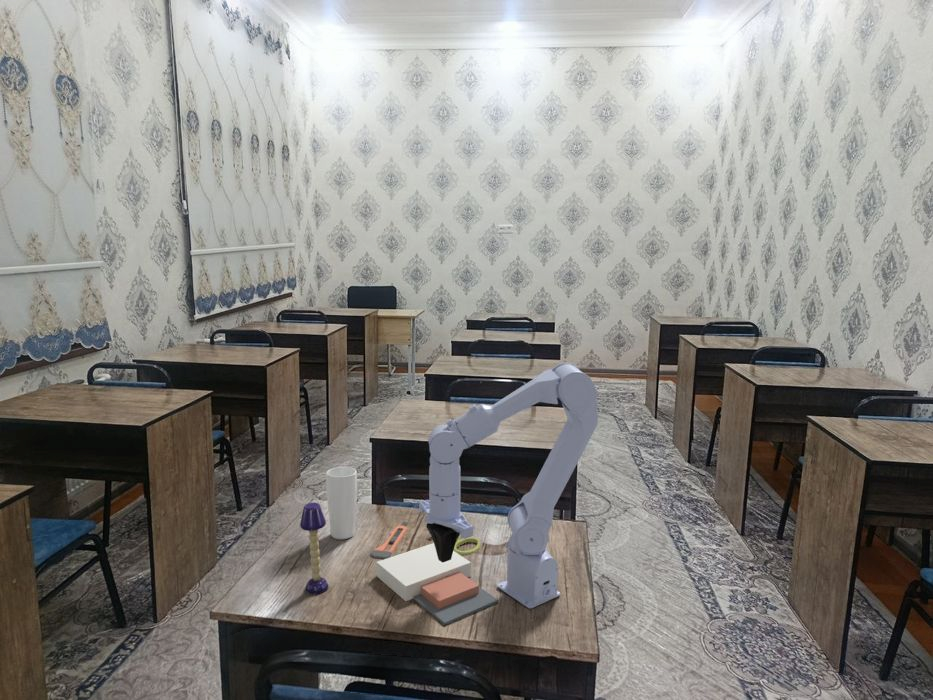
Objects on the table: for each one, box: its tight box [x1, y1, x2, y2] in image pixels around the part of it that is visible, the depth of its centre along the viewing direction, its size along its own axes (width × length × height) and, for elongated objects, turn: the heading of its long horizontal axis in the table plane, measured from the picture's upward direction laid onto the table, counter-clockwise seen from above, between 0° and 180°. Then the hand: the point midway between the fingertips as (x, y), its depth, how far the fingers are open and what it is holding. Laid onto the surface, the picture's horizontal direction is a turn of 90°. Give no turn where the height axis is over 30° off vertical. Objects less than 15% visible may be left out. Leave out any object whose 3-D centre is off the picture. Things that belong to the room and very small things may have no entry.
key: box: [428, 531, 482, 556], centre depth 136 cm, size 7×12×2 cm, turn 67°
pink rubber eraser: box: [421, 572, 480, 609], centre depth 116 cm, size 6×9×2 cm, turn 126°
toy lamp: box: [299, 502, 329, 595], centre depth 117 cm, size 5×5×17 cm
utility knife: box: [369, 521, 409, 560], centre depth 139 cm, size 4×1×18 cm
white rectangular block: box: [375, 542, 472, 602], centre depth 123 cm, size 11×15×3 cm
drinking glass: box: [325, 466, 358, 540], centre depth 139 cm, size 7×7×15 cm
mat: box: [412, 586, 499, 626], centre depth 115 cm, size 10×12×1 cm
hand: (444, 559), depth 117 cm, fingers closed
